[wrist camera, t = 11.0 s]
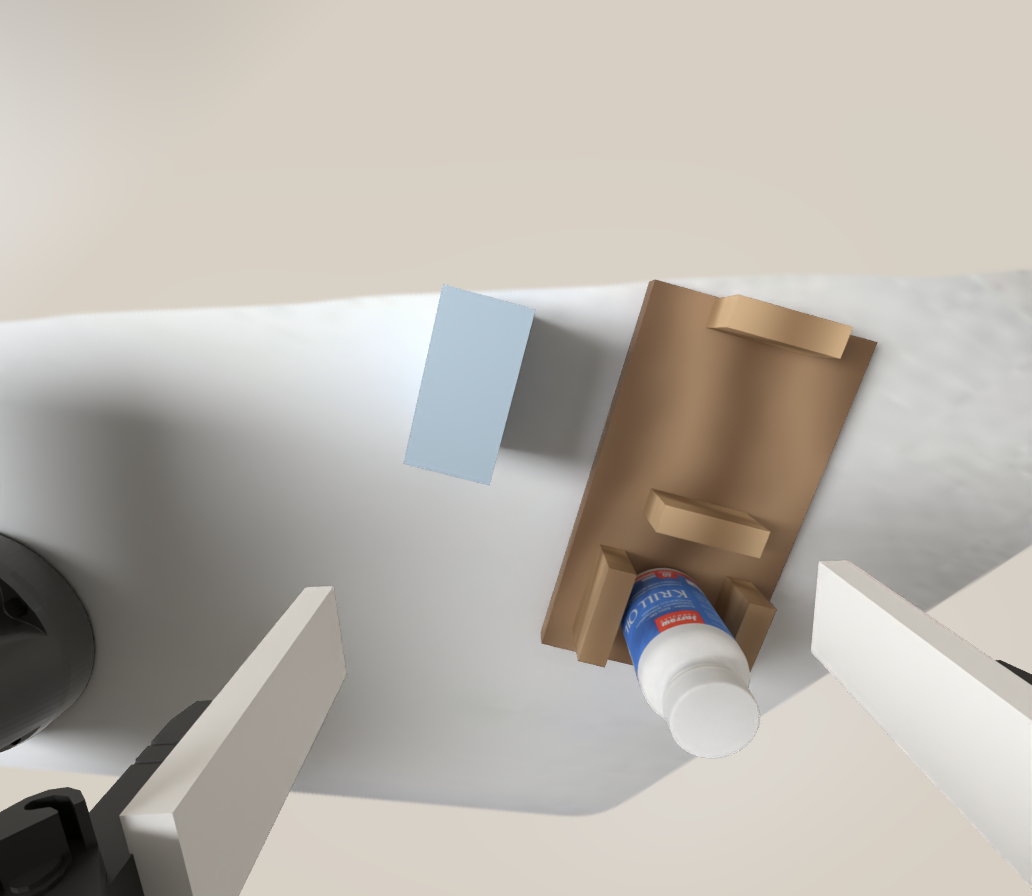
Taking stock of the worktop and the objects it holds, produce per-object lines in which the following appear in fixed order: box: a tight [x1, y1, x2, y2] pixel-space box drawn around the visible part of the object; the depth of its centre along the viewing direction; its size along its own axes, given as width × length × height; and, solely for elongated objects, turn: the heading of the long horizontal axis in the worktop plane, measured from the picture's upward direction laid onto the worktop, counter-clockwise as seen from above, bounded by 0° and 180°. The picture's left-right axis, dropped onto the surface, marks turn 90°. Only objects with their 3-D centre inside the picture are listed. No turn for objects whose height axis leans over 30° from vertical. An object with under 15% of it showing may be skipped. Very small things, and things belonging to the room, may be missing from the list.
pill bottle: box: [620, 568, 760, 758], centre depth 27 cm, size 6×5×10 cm
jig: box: [541, 280, 877, 672], centre depth 29 cm, size 13×23×4 cm, turn 165°
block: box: [404, 285, 536, 485], centre depth 26 cm, size 4×8×8 cm, turn 165°
